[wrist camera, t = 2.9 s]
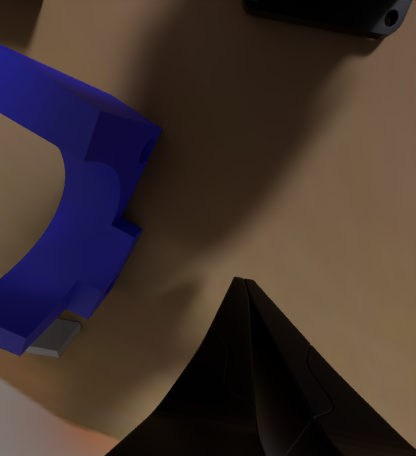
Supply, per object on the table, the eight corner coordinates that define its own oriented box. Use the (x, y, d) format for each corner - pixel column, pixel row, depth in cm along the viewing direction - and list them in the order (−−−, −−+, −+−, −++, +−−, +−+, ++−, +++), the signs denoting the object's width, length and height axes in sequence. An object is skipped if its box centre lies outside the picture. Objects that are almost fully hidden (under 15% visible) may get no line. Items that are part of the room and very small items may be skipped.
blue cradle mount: (112, 287, 15) (49, 368, 10) (56, 260, 15) (-45, 329, 9) (187, 144, 11) (151, 143, 5) (112, 95, 10) (-17, 36, 5)
